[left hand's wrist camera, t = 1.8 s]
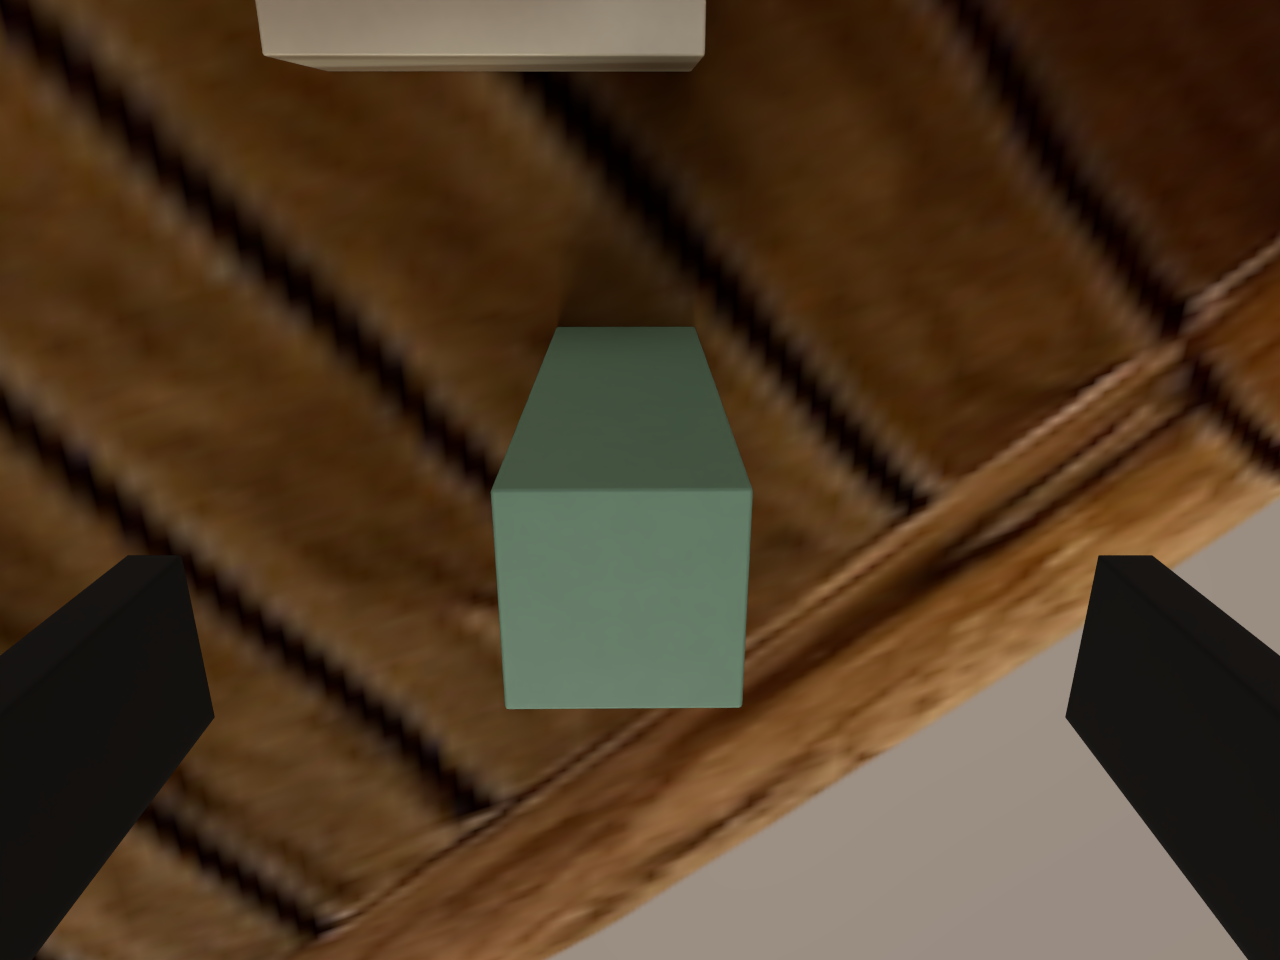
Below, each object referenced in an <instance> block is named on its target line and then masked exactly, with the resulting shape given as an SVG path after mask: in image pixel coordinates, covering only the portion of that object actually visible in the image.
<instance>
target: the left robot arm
mask: <svg viewBox="0 0 1280 960" xmlns="http://www.w3.org/2000/svg"><path fill="white" fill-rule="evenodd" d="M213 719H214V712H213V707H212V702H211V697H210V692H209V687H208V683H207V678H206V673H205V668H204V663H203V658H202V653H201V649H200V644H199V639H198V634H197V629H196V624H195V619H194V615H193V610H192V605H191V600H190V595H189V590H188V585H187V581H186V576H185V571H184V566H183V561H182V556H181V555H128V556H127V557H125V558H124V559H123V560H121V561H120V562H119V563H118V564H116V565H115V566H114V567H113V568H111V569H110V570H109V571H107V572H106V573H105V574H104V575H102V576H101V577H100V578H99V579H97V580H96V581H95V582H93V583H92V584H91V585H90V586H88V587H87V588H86V589H85V590H83V591H82V592H81V593H79V594H78V595H77V596H76V597H74V598H73V599H72V600H71V601H69V602H68V603H67V604H65V605H64V606H63V607H62V608H60V609H59V610H58V611H57V612H55V613H54V614H53V615H51V616H50V617H49V618H48V619H46V620H45V621H44V622H43V623H41V624H40V625H39V626H37V627H36V628H35V629H34V630H32V631H31V632H30V633H29V634H27V635H26V636H25V637H23V638H22V639H21V640H20V641H18V642H17V643H16V644H15V645H13V646H12V647H11V648H10V649H8V650H7V651H6V652H4V653H3V654H2V655H1V656H0V960H32V959H33V958H34V956H35V955H36V954H37V952H38V951H39V950H40V948H41V947H42V946H43V944H44V943H45V942H46V940H47V939H48V938H49V936H50V935H51V934H52V932H53V931H54V930H55V928H56V927H57V926H58V924H59V923H60V922H61V920H62V919H63V918H64V916H65V915H66V914H67V912H68V911H69V910H70V908H71V907H72V906H73V904H74V903H75V902H76V901H77V899H78V898H79V897H80V895H81V894H82V893H83V891H84V890H85V889H86V887H87V886H88V885H89V883H90V882H91V881H92V879H93V878H94V877H95V875H96V874H97V873H98V871H99V870H100V869H101V867H102V866H103V865H104V863H105V862H106V861H107V859H108V858H109V857H110V855H111V854H112V853H113V851H114V850H115V849H116V847H117V846H118V845H119V843H120V842H121V841H122V839H123V838H124V837H125V835H126V834H127V833H128V832H129V830H130V829H131V828H132V826H133V825H134V824H135V822H136V821H137V820H138V818H139V817H140V816H141V814H142V813H143V812H144V810H145V809H146V808H147V806H148V805H149V804H150V802H151V801H152V800H153V798H154V797H155V796H156V794H157V793H158V792H159V790H160V789H161V788H162V786H163V785H164V784H165V782H166V781H167V780H168V778H169V777H170V776H171V774H172V773H173V772H174V770H175V769H176V768H177V766H178V765H179V764H180V763H181V761H182V760H183V759H184V757H185V756H186V755H187V753H188V752H189V751H190V749H191V748H192V747H193V745H194V744H195V743H196V741H197V740H198V739H199V737H200V736H201V735H202V733H203V732H204V731H205V729H206V728H207V727H208V725H209V724H210V723H211V721H212V720H213ZM1066 719H1067V720H1068V721H1069V723H1070V724H1071V725H1072V727H1073V728H1074V729H1075V731H1076V732H1077V733H1078V735H1079V736H1080V737H1081V739H1082V740H1083V741H1084V743H1085V744H1086V745H1087V747H1088V748H1089V749H1090V750H1091V752H1092V753H1093V755H1094V756H1095V757H1096V759H1097V760H1098V761H1099V762H1100V764H1101V765H1102V766H1103V768H1104V769H1105V770H1106V772H1107V773H1108V774H1109V776H1110V777H1111V778H1112V780H1113V781H1114V782H1115V784H1116V785H1117V786H1118V788H1119V789H1120V790H1121V792H1122V793H1123V794H1124V796H1125V797H1126V798H1127V800H1128V801H1129V802H1130V804H1131V805H1132V806H1133V808H1134V809H1135V810H1136V812H1137V813H1138V814H1139V816H1140V817H1141V818H1142V820H1143V821H1144V822H1145V824H1146V825H1147V826H1148V828H1149V829H1150V830H1151V831H1152V833H1153V834H1154V835H1155V837H1156V838H1157V839H1158V841H1159V842H1160V843H1161V845H1162V846H1163V847H1164V849H1165V850H1166V851H1167V853H1168V854H1169V855H1170V857H1171V858H1172V859H1173V861H1174V862H1175V863H1176V865H1177V866H1178V867H1179V869H1180V870H1181V871H1182V873H1183V874H1184V875H1185V876H1186V878H1187V879H1188V881H1189V882H1190V883H1191V885H1192V886H1193V887H1194V888H1195V890H1196V891H1197V893H1198V894H1199V895H1200V896H1201V898H1202V899H1203V900H1204V902H1205V903H1206V904H1207V906H1208V907H1209V908H1210V910H1211V911H1212V912H1213V914H1214V915H1215V916H1216V918H1217V919H1218V920H1219V922H1220V923H1221V924H1222V926H1223V927H1224V928H1225V930H1226V931H1227V932H1228V934H1229V935H1230V936H1231V938H1232V939H1233V940H1234V942H1235V943H1236V944H1237V946H1238V947H1239V948H1240V950H1241V951H1242V952H1243V954H1244V955H1245V956H1246V958H1247V959H1248V960H1280V656H1279V655H1278V654H1277V653H1276V652H1274V651H1273V650H1272V649H1270V648H1269V647H1268V646H1267V645H1265V644H1264V643H1263V642H1262V641H1260V640H1259V639H1258V638H1257V637H1255V636H1254V635H1253V634H1251V633H1250V632H1249V631H1248V630H1246V629H1245V628H1244V627H1242V626H1241V625H1240V624H1239V623H1237V622H1236V621H1235V620H1234V619H1232V618H1231V617H1230V616H1229V615H1227V614H1226V613H1225V612H1223V611H1222V610H1221V609H1220V608H1218V607H1217V606H1216V605H1215V604H1213V603H1212V602H1211V601H1209V600H1208V599H1207V598H1206V597H1204V596H1203V595H1202V594H1201V593H1199V592H1198V591H1197V590H1195V589H1194V588H1193V587H1192V586H1190V585H1189V584H1188V583H1187V582H1185V581H1184V580H1183V579H1181V578H1180V577H1179V576H1178V575H1176V574H1175V573H1174V572H1173V571H1171V570H1170V569H1169V568H1167V567H1166V566H1165V565H1164V564H1162V563H1161V562H1160V561H1159V560H1157V559H1156V558H1155V557H1153V556H1152V555H1099V556H1098V561H1097V566H1096V571H1095V576H1094V581H1093V585H1092V590H1091V595H1090V600H1089V605H1088V610H1087V615H1086V619H1085V624H1084V629H1083V634H1082V639H1081V644H1080V649H1079V653H1078V658H1077V663H1076V668H1075V673H1074V678H1073V683H1072V688H1071V692H1070V697H1069V702H1068V707H1067V712H1066Z"/></svg>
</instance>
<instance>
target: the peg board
mask: <svg viewBox="0 0 1280 960" xmlns="http://www.w3.org/2000/svg"><path fill="white" fill-rule="evenodd" d="M255 1H256V8H257V15H258V23H259V30H260V37H261V44H262V51H263V54H264V55H265V56H268V57H272V58H276V59H280V60H284V61H288V62H292V63H297V64H301V65H305V66H309V67H313V68H317V69H321V70H325V71H692V69H693V68H694V67H695V66H696V65H697V63H698V62H699V61H700V60H701V59H702V57H703V56H704V54H705V26H706V0H255Z"/></svg>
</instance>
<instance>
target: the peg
mask: <svg viewBox="0 0 1280 960" xmlns="http://www.w3.org/2000/svg"><path fill="white" fill-rule="evenodd" d="M752 499H753V490H752V487H751V484H750V481H749V478H748V475H747V473H746V470H745V467H744V464H743V461H742V459H741V456H740V453H739V450H738V447H737V445H736V442H735V439H734V436H733V433H732V430H731V428H730V425H729V422H728V419H727V416H726V414H725V411H724V408H723V405H722V402H721V400H720V397H719V394H718V391H717V388H716V385H715V383H714V380H713V377H712V374H711V371H710V369H709V366H708V363H707V360H706V357H705V355H704V352H703V349H702V346H701V343H700V340H699V338H698V335H697V332H696V329H695V327H557V328H556V330H555V333H554V335H553V338H552V340H551V343H550V345H549V348H548V350H547V353H546V355H545V358H544V360H543V363H542V365H541V368H540V370H539V373H538V375H537V378H536V380H535V383H534V385H533V388H532V390H531V393H530V395H529V398H528V400H527V403H526V405H525V408H524V410H523V413H522V415H521V418H520V420H519V423H518V425H517V428H516V430H515V433H514V435H513V438H512V440H511V443H510V445H509V448H508V450H507V453H506V455H505V458H504V460H503V463H502V465H501V468H500V470H499V473H498V475H497V478H496V480H495V483H494V485H493V488H492V490H491V501H492V516H493V531H494V546H495V561H496V576H497V591H498V606H499V621H500V636H501V651H502V666H503V681H504V696H505V706H506V708H507V709H576V708H730V707H741V705H742V697H743V677H744V657H745V637H746V618H747V598H748V578H749V558H750V538H751V519H752Z"/></svg>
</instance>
